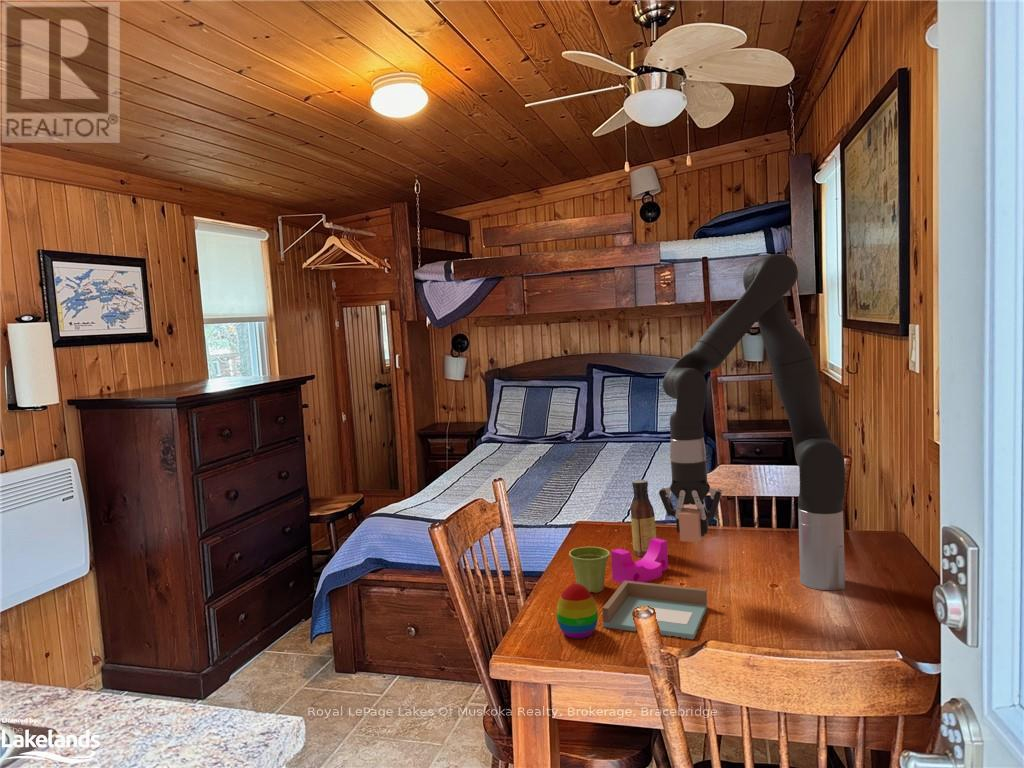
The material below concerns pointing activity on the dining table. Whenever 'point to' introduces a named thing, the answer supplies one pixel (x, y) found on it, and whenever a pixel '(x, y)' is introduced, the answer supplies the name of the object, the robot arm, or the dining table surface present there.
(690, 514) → the block
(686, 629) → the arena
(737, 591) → the dining table surface
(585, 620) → the decorative egg
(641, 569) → the toy block
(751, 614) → the dining table surface
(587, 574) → the plant pot
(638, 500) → the sauce bottle
